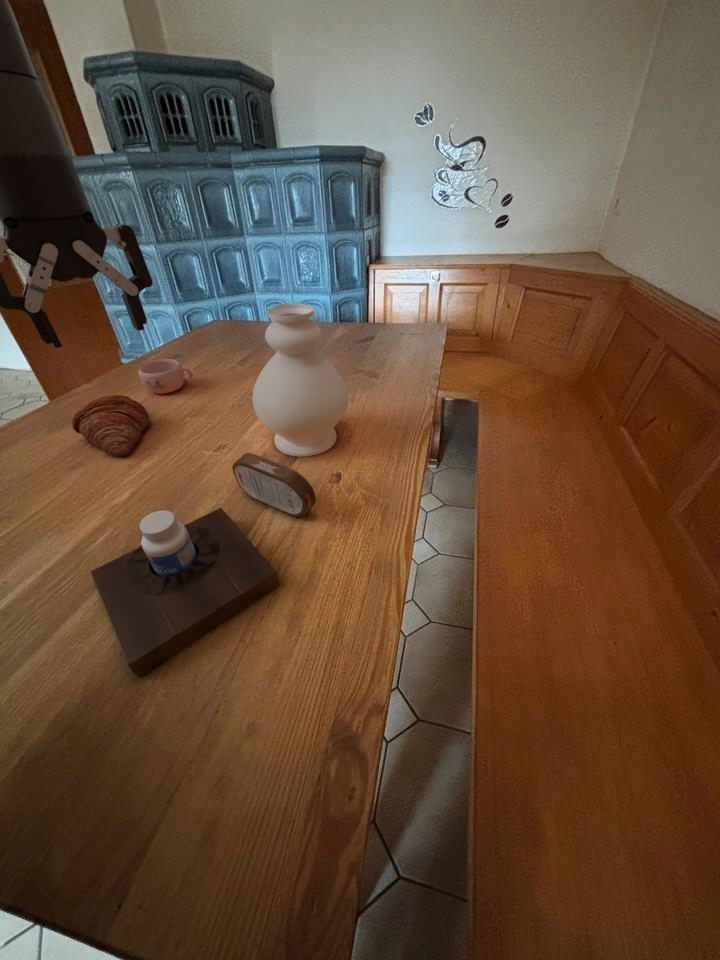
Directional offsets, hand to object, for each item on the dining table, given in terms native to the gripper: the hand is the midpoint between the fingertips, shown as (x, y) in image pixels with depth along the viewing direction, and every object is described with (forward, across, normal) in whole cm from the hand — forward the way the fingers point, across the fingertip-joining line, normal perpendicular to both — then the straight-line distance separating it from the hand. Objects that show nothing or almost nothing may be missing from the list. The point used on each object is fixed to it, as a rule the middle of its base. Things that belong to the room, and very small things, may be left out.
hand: (100, 337), depth 44 cm
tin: (+28, +13, -9) cm, 32 cm away
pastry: (+28, 0, +32) cm, 43 cm away
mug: (+28, +16, +46) cm, 56 cm away
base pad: (+28, -4, -15) cm, 32 cm away
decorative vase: (+28, +28, +4) cm, 40 cm away
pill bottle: (+28, -4, -12) cm, 31 cm away
